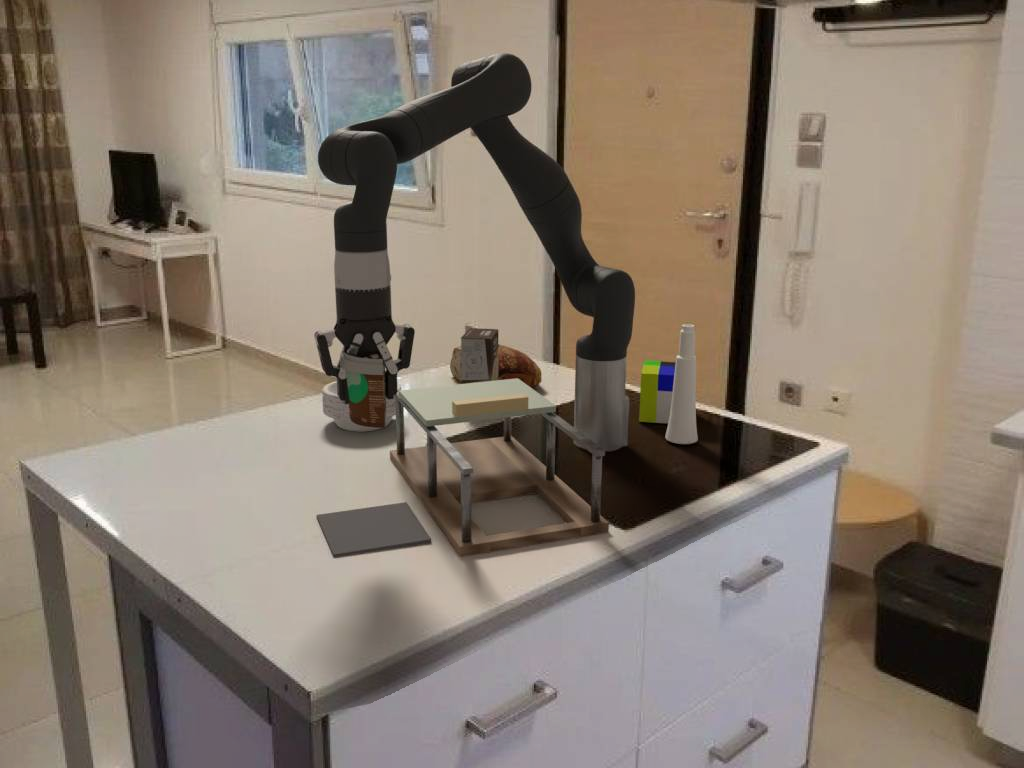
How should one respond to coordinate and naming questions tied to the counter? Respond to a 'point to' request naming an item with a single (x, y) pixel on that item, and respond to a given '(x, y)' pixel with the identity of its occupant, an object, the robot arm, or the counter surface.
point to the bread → (505, 366)
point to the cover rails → (467, 469)
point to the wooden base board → (494, 493)
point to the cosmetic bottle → (684, 392)
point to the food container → (365, 389)
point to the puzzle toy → (656, 391)
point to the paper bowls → (341, 411)
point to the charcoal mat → (372, 529)
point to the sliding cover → (475, 402)
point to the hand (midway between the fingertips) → (367, 399)
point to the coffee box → (479, 356)
